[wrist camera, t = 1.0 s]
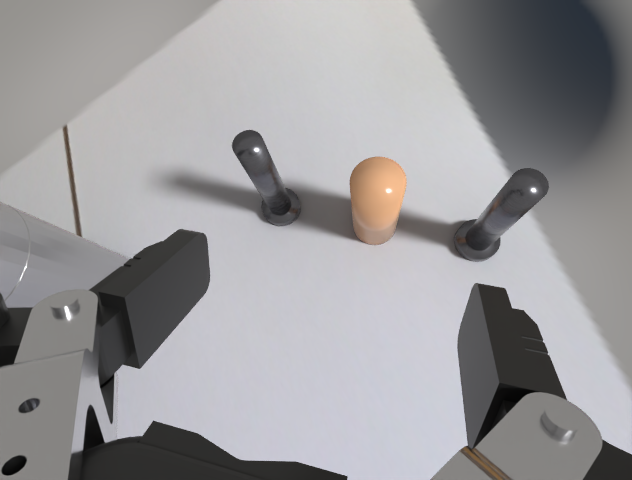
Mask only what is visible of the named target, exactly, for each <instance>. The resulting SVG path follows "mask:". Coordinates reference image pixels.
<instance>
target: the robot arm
mask: <svg viewBox="0 0 632 480" xmlns="http://www.w3.org/2000/svg"><path fill="white" fill-rule="evenodd" d="M209 282H210V268H209V256H208V243H207V237H206V235H205V234H204V233H200V232H195V231H189V230H183V229H179V230H177V231H176V232H175V233H173V234H172V235H171V236H169V237H168V238H167V239H166V240H164V241H161V242H159V243H156V244H154V245H151V246H149V247H146V248H144V249H143V250H142V251H140V252H139V253H138V254H136V255H135V256H134V257H133V259H132V258H131V259H130V260H128V259H127V258H126V257H124V256H122V255H120V254H118V253H115V252H113V251H111V250H109V249H106V248H104V247H102V246H100V245H98V244H96V243H93V242H91V241H89V240H86V239H84V238H82V237H80V236H77V235H75V234H73V233H70V232H68V231H66V230H64V229H61V228H59V227H57V226H54V225H52V224H50V223H48V222H45V221H43V220H41V219H39V218H36V217H34V216H32V215H29V214H27V213H25V212H23V211H20V210H18V209H16V208H13V207H11V206H9V205H6V204H4V203H2V202H0V480H347V477H348V476H344V475H341V474H337V473H334V472H330V471H327V470H323V469H320V468H316V467H313V466H309V465H306V464H302V463H299V462H285V461H244V460H239V459H237V458H235V457H234V456H232V455H230V454H229V453H227V452H226V451H224V450H223V449H221V448H220V447H218V446H216V445H215V444H213V443H212V442H210V441H209V440H207V439H205V438H204V437H202V436H201V435H199V434H198V433H194V432H191V431H187V430H184V429H180V428H177V427H173V426H170V425H166V424H163V423H159V422H156V421H153V422H152V424H151V425H150V426H149V428H148V429H147V431H146V432H145V433H144V435H143V436H137V437H127V438H122V439H117V411H118V375H117V372H116V371H117V370H118V369H119V368H120V367H121V366H122V365H127V366H131V367H135V368H138V369H140V368H141V367H142V366H143V365H144V364H145V363H146V361H147V360H148V359H149V358H150V357H151V356H152V354H153V353H154V352H155V351H156V350H157V349H158V348H159V346H160V345H161V344H162V343H163V342H164V341H165V339H166V338H167V337H168V336H169V335H170V334H171V332H172V331H173V330H174V329H175V328H176V327H177V326H178V324H179V323H180V322H181V321H182V320H183V319H184V317H185V316H186V315H187V314H188V313H189V312H190V311H191V309H192V308H193V307H194V306H195V305H196V304H197V302H198V301H199V300H200V299H201V298H202V297H203V295H204V294H205V293H206V291H207V289H208V286H209ZM458 358H459V367H460V376H461V385H462V395H463V404H464V413H465V422H466V432H467V441H468V446H465V447H463V448H462V449H461V450H459V451H458V452H457V453H456V454H455V455H454V456H453V457H452V458H451V459H450V460H449V461H448V462H447V463H446V464H445V465H444V466H443V467H442V468H441V469H440V470H439V471H438V472H437V473H436V474H435V475H434V476H433V477H432V478H431V479H430V480H632V455H631V454H629V453H627V452H625V451H623V450H621V449H619V448H617V447H615V446H613V445H611V444H609V443H607V442H606V441H604V440H602V437H601V434H600V432H599V430H598V428H597V426H596V425H595V423H594V422H593V421H592V420H591V418H590V417H589V416H588V415H587V414H586V413H584V412H583V411H582V410H581V409H580V408H578V407H577V406H575V405H574V404H572V403H571V402H569V401H567V399H566V396H565V394H564V391H563V389H562V386H561V384H560V381H559V379H558V376H557V374H556V371H555V369H554V366H553V364H552V361H551V358H550V356H549V355H548V351H547V348H546V346H545V343H543V338H542V336H541V333H540V331H539V328H538V326H537V324H536V323H535V322H534V321H533V320H532V319H531V318H530V317H529V316H528V315H527V314H526V313H525V311H524V310H518V309H513V308H512V307H511V304H510V301H509V298H508V294H507V291H506V289H505V288H501V287H495V286H490V285H484V284H478V283H475V284H474V286H473V288H472V290H471V293H470V297H469V300H468V303H467V306H466V309H465V313H464V316H463V319H462V322H461V326H460V329H459V335H458Z"/></svg>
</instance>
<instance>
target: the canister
mask: <svg viewBox="0 0 632 480" xmlns="http://www.w3.org/2000/svg"><path fill="white" fill-rule="evenodd" d="M406 183H407V182H406V175H405V173H404V171H403V169H402V168H401V166H400V165H399V164H398V163H396V162H395V161H393V160H391V159H389V158H385V157H372V158H368V159H366V160H364V161H362V162H360V163H359V164H358V165H357V166H356V167H355V168H354V170H353V172H352V174H351V177H350V193H351V205H352V218H353V229H354V232H355V234H356V236H357V237H358V238H359V239H360V240H361V241H363V242H365V243H367V244H370V245H379V244H383V243H385V242H387V241H388V240H389V239H390V238H391V237H392V236H393V235H394V233H395V230H396V226H397V222H398V218H399V214H400V209H401V205H402V201H403V197H404V193H405V189H406Z"/></svg>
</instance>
